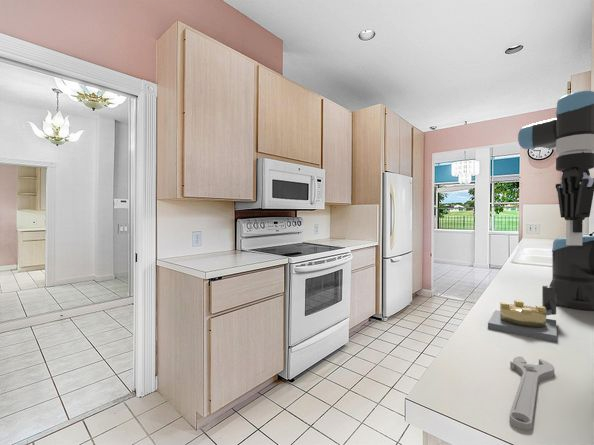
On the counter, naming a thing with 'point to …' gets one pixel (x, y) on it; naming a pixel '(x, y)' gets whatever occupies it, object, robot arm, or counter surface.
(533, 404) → the adjustable wrench
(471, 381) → the counter surface
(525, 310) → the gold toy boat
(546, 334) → the base
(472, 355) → the counter surface
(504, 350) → the counter surface
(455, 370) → the counter surface
